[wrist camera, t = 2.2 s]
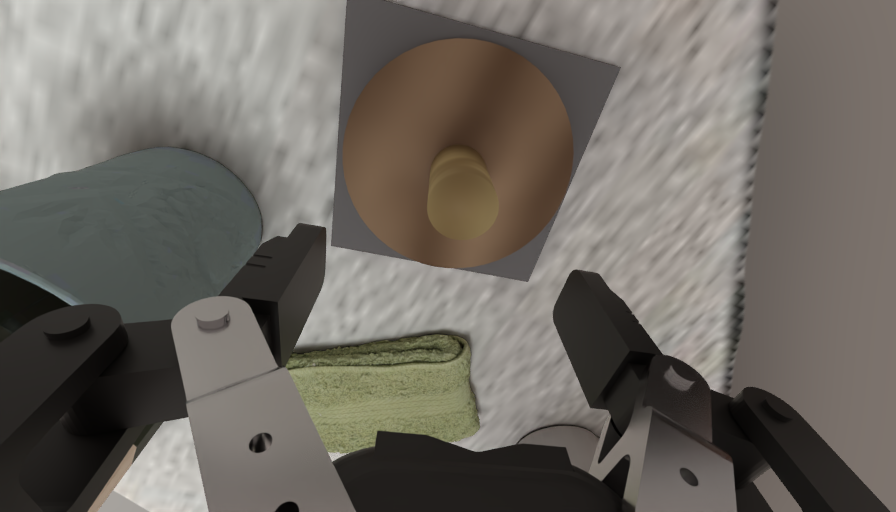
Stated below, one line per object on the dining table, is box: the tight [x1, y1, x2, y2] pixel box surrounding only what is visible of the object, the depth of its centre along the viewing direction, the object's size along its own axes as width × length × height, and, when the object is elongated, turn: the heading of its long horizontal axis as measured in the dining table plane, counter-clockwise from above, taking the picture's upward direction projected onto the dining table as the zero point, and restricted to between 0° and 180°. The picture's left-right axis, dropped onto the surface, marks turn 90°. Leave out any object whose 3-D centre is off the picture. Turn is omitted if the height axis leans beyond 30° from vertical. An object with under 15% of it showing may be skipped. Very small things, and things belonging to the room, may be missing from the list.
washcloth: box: [286, 334, 480, 454], centre depth 31 cm, size 13×18×3 cm
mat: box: [331, 0, 621, 282], centre depth 21 cm, size 14×14×1 cm
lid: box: [343, 38, 574, 268], centre depth 18 cm, size 13×13×6 cm
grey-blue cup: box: [0, 147, 262, 343], centre depth 17 cm, size 10×10×12 cm
